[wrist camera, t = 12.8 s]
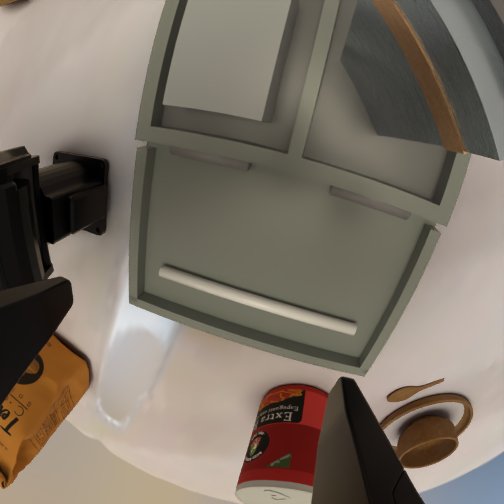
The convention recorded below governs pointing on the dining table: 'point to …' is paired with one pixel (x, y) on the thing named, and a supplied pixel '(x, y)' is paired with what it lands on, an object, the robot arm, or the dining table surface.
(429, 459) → the place setting
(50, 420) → the coffee package
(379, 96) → the block
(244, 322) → the case
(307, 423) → the canned food
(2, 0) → the bread roll
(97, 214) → the robot arm
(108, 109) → the dining table surface
